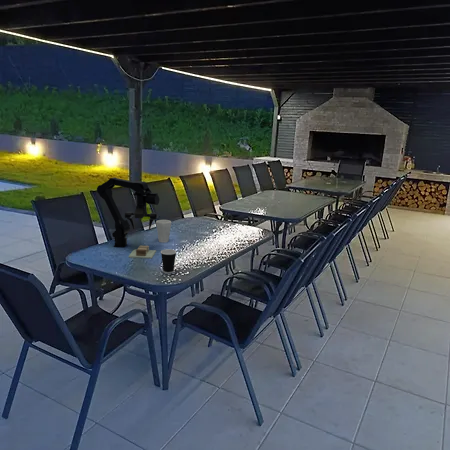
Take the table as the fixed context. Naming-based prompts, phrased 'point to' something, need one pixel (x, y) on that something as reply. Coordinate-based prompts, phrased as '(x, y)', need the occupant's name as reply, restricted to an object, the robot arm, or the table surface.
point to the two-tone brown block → (142, 250)
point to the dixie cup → (168, 260)
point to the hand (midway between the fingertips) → (141, 229)
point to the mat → (148, 256)
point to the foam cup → (163, 230)
